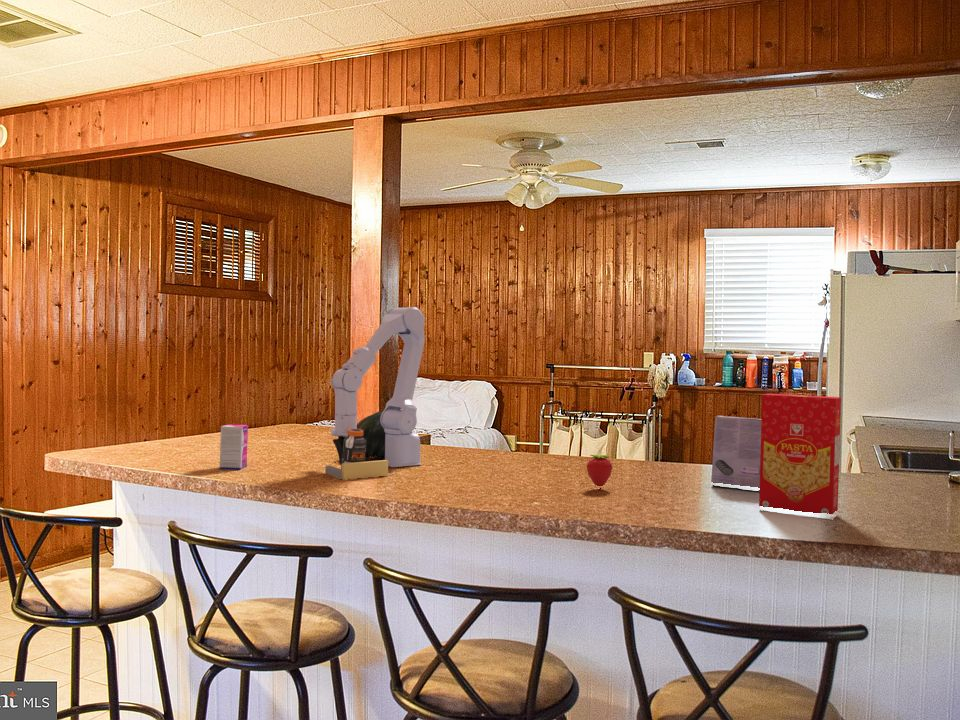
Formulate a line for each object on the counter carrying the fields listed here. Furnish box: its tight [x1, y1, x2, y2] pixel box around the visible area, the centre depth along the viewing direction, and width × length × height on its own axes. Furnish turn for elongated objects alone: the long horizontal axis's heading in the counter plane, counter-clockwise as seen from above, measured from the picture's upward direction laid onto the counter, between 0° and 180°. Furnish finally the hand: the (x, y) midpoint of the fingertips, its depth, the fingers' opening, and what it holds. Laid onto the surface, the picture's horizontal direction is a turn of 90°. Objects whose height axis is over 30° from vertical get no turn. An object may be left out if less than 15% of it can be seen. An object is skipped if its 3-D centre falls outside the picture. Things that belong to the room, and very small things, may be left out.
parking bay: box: [324, 459, 389, 481], centre depth 209 cm, size 12×11×4 cm
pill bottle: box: [340, 429, 366, 470], centre depth 210 cm, size 6×6×11 cm
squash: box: [357, 410, 385, 460], centre depth 238 cm, size 14×15×15 cm
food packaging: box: [758, 393, 842, 514], centre depth 171 cm, size 15×5×25 cm, turn 56°
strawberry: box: [586, 449, 613, 487], centre depth 195 cm, size 6×8×10 cm
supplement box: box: [219, 423, 249, 471], centre depth 216 cm, size 6×6×12 cm
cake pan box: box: [710, 415, 761, 488], centre depth 198 cm, size 19×5×18 cm, turn 59°
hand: (345, 465), depth 215 cm, fingers closed
